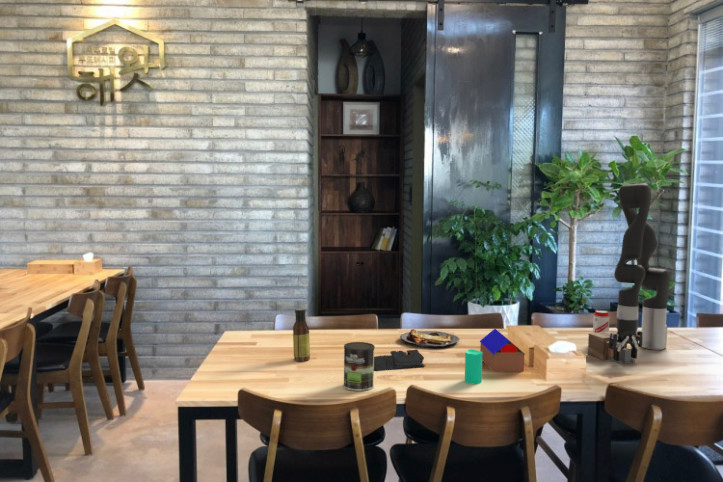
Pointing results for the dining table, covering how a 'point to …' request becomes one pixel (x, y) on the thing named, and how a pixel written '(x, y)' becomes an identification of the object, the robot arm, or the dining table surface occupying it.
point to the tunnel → (599, 344)
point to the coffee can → (359, 366)
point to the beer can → (601, 321)
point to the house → (501, 353)
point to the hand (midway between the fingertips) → (625, 359)
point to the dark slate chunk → (399, 360)
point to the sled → (623, 356)
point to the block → (610, 351)
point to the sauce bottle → (301, 337)
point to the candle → (473, 366)
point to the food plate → (429, 338)
